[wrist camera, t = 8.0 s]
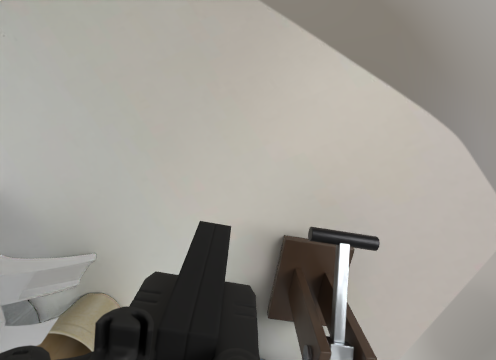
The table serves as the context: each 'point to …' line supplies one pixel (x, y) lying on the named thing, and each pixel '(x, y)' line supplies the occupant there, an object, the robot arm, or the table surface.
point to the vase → (19, 314)
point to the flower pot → (77, 327)
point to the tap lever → (341, 283)
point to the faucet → (35, 291)
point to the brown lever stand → (312, 298)
